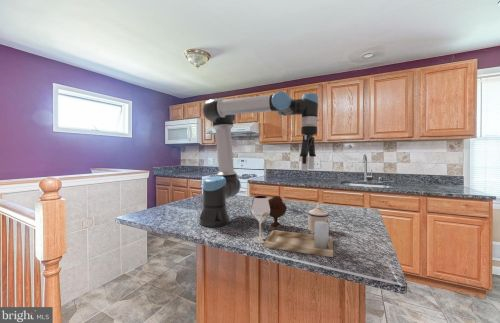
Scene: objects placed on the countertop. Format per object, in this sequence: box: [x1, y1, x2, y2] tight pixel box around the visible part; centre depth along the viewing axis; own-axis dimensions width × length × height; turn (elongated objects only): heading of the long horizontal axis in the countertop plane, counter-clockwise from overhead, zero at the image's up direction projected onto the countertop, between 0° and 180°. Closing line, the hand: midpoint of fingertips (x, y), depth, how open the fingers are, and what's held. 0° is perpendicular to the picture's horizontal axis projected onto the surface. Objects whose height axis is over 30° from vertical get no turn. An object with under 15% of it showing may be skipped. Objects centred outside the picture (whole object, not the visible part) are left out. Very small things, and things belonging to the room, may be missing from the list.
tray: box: [263, 229, 334, 258], centre depth 85 cm, size 24×14×3 cm, turn 71°
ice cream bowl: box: [268, 195, 288, 228], centre depth 111 cm, size 11×11×15 cm
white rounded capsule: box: [313, 221, 330, 250], centre depth 82 cm, size 5×5×9 cm
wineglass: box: [249, 195, 270, 244], centre depth 91 cm, size 8×8×18 cm
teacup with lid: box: [307, 205, 330, 233], centre depth 103 cm, size 12×9×12 cm
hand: (307, 170), depth 109 cm, fingers open, 13 cm apart
